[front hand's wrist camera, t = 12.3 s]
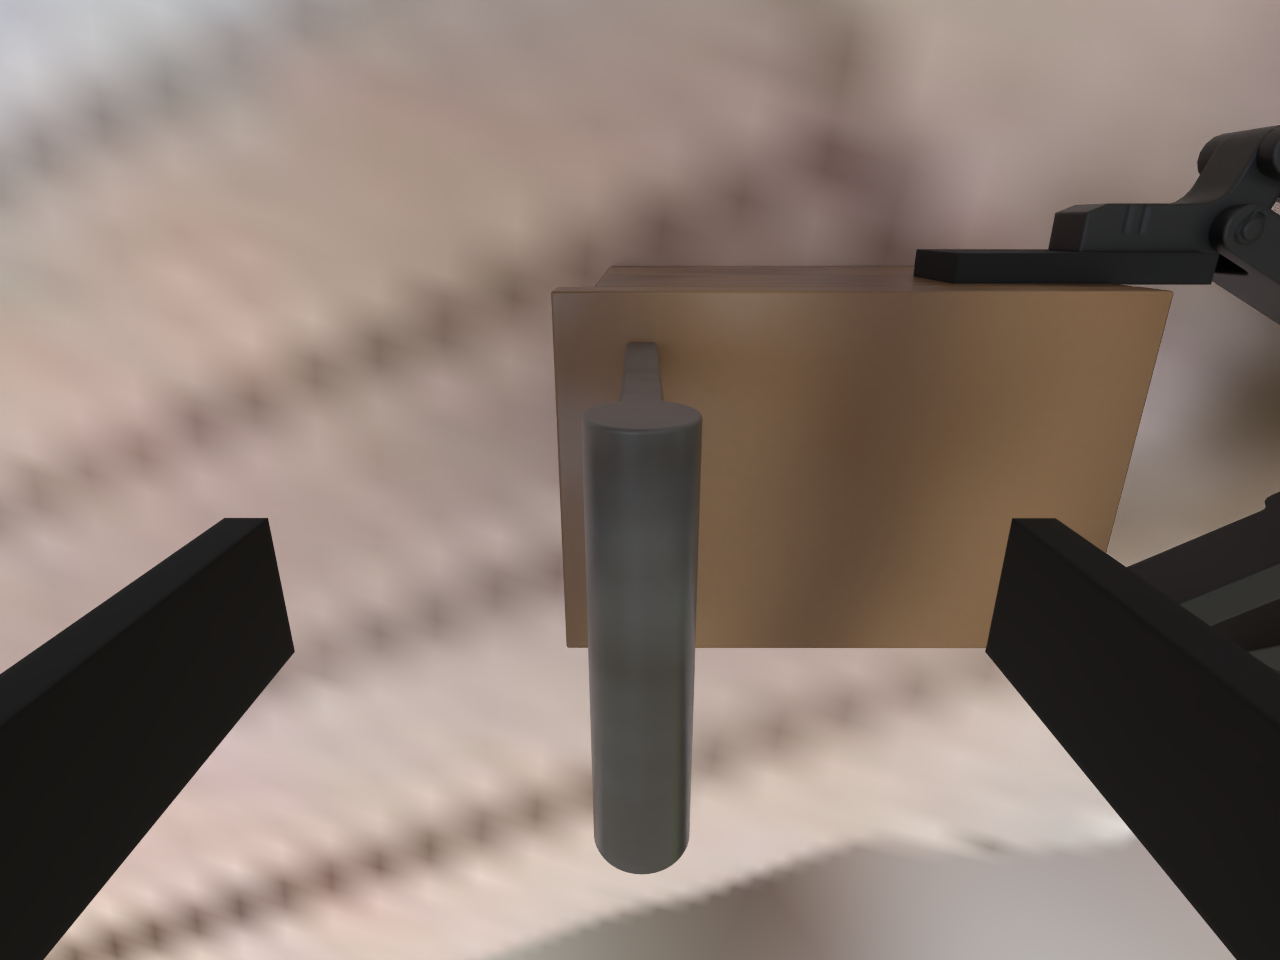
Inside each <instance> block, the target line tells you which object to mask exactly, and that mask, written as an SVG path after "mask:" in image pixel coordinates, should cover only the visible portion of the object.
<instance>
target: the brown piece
mask: <svg viewBox="0 0 1280 960" xmlns="http://www.w3.org/2000/svg"><path fill="white" fill-rule="evenodd" d="M1172 297H1173V292H1172V291H1167V290H1159V289H1151V288H1143V287H558V288H557V289H555V290H554V291H552V293H551V299H552V322H553V344H554V367H555V390H556V413H557V436H558V459H559V482H560V505H561V527H562V550H563V573H564V596H565V619H566V642H567V647H568V648H588V652H589V685H590V717H591V749H592V781H593V814H594V838H595V843H596V846H597V848H598V850H599V852H600V853H601V855H602V856H603V858H604V859H605V860H606V861H607V862H609V863H610V864H611V865H612V866H614V867H616V868H617V869H620V870H622V871H625V872H628V873H634V874H650V873H655V872H659V871H661V870H664V869H666V868H668V867H669V866H671V865H672V864H674V863H675V862H676V861H677V860H678V859H679V858H680V857H681V855H682V854H683V853H684V851H685V849H686V847H687V844H688V841H689V827H690V795H691V764H692V733H693V701H694V670H695V648H986V646H987V641H988V636H989V631H990V626H991V621H992V616H993V611H994V606H995V601H996V596H997V591H998V586H999V581H1000V576H1001V571H1002V566H1003V561H1004V556H1005V551H1006V546H1007V541H1008V536H1009V531H1010V526H1011V521H1012V518H1056V519H1058V520H1059V521H1060V522H1062V523H1063V524H1065V525H1066V526H1068V527H1069V528H1070V529H1072V530H1073V531H1075V532H1076V533H1078V534H1079V535H1081V536H1082V537H1083V538H1085V539H1086V540H1088V541H1089V542H1091V543H1092V544H1093V545H1095V546H1096V547H1098V548H1099V549H1101V550H1102V551H1103V552H1105V553H1106V551H1107V547H1108V543H1109V539H1110V536H1111V532H1112V528H1113V524H1114V520H1115V516H1116V512H1117V509H1118V505H1119V501H1120V497H1121V493H1122V489H1123V485H1124V482H1125V478H1126V474H1127V470H1128V466H1129V462H1130V458H1131V455H1132V451H1133V447H1134V443H1135V439H1136V435H1137V431H1138V428H1139V424H1140V420H1141V416H1142V412H1143V408H1144V404H1145V401H1146V397H1147V393H1148V389H1149V385H1150V381H1151V378H1152V374H1153V370H1154V366H1155V362H1156V358H1157V354H1158V351H1159V347H1160V343H1161V339H1162V335H1163V331H1164V327H1165V324H1166V320H1167V316H1168V312H1169V308H1170V304H1171V300H1172Z"/></svg>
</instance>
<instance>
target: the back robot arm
mask: <svg viewBox="0 0 1280 960" xmlns="http://www.w3.org/2000/svg"><path fill="white" fill-rule="evenodd" d="M1197 164H1198V172H1199V173H1200V176H1199V178H1198V179H1197V181H1196V183H1195V184H1194V186H1193V187H1192V188H1191V190H1190V191H1189V192H1188V193H1187V194H1186V195H1185V196H1184V197H1183V198H1181V199H1179V200H1178V201H1176V202H1173V203H1171V204H1090V205H1075V206H1072V207H1070V208H1067V209H1065V210H1062V211H1060V212H1057V213H1055V218H1054V223H1053V228H1052V233H1051V239H1050V244H1049V249H1048V250H1009V249H917V251H916V259H915V266H914V274H913V276H915V277H920V278H926V279H931V280H936V281H942V282H947V283H952V284H1211V282H1212V281H1213V282H1215V283H1216V284H1218V285H1219V286H1221V287H1222V288H1224V289H1225V290H1227V291H1228V292H1230V293H1232V294H1233V295H1235V296H1236V297H1238V298H1239V299H1241V300H1242V301H1244V302H1246V303H1247V304H1249V305H1250V306H1252V307H1253V308H1255V309H1256V310H1258V311H1259V312H1261V313H1263V314H1264V315H1266V316H1267V317H1269V318H1270V319H1272V320H1273V321H1275V322H1277V323H1278V324H1280V215H1278V214H1277V213H1275V212H1274V211H1273V210H1271V208H1272V207H1273V205H1274V203H1275V202H1279V203H1280V125H1278V126H1271V127H1265V128H1259V129H1252V130H1246V131H1239V132H1233V133H1227V134H1222V135H1219V136H1216V137H1214V138H1213V139H1211V140H1210V141H1209V142H1208V143H1206V145H1205V146H1204V148H1203V149H1202V151H1201V152H1200V155H1199V158H1198V161H1197ZM1265 505H1266V507H1265V509H1264V510H1262V511H1260V512H1257V513H1255V514H1253V515H1250V516H1248V517H1246V518H1243V519H1241V520H1238V521H1236V522H1234V523H1231V524H1229V525H1226V526H1224V527H1222V528H1219V529H1217V530H1215V531H1212V532H1210V533H1207V534H1205V535H1203V536H1200V537H1198V538H1196V539H1193V540H1191V541H1188V542H1186V543H1184V544H1181V545H1179V546H1176V547H1174V548H1172V549H1169V550H1167V551H1165V552H1162V553H1160V554H1157V555H1155V556H1153V557H1150V558H1148V559H1146V560H1143V561H1141V562H1138V563H1136V564H1134V565H1131V566H1129V567H1126V568H1128V569H1129V570H1131V571H1132V572H1134V573H1135V574H1136V575H1138V576H1139V577H1141V578H1142V579H1144V580H1145V581H1147V582H1148V583H1149V584H1151V585H1152V586H1154V587H1155V588H1157V589H1158V590H1159V591H1161V592H1162V593H1164V594H1165V595H1167V596H1168V597H1169V598H1171V599H1172V600H1174V601H1175V602H1177V603H1178V604H1179V605H1181V606H1182V607H1184V608H1185V609H1187V610H1188V611H1190V612H1191V613H1192V614H1194V615H1195V616H1197V617H1198V618H1200V619H1201V620H1202V621H1204V622H1205V623H1207V624H1208V625H1210V626H1211V627H1212V628H1214V629H1215V630H1217V631H1218V632H1220V633H1221V634H1223V635H1224V636H1225V637H1227V638H1228V639H1230V640H1231V641H1233V642H1234V643H1235V644H1237V645H1238V646H1240V647H1241V648H1243V649H1244V650H1245V651H1247V652H1248V653H1250V654H1251V655H1253V656H1254V657H1256V658H1257V659H1258V660H1260V661H1261V662H1263V663H1264V664H1266V665H1267V666H1269V667H1271V668H1273V669H1275V670H1277V671H1279V672H1280V492H1278V493H1276V494H1273V495H1271V496H1270V497H1268V498H1267V499H1266V500H1265Z"/></svg>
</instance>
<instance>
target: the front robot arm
mask: <svg viewBox="0 0 1280 960" xmlns="http://www.w3.org/2000/svg"><path fill="white" fill-rule="evenodd" d="M294 652H295V651H294V646H293V641H292V636H291V631H290V626H289V621H288V616H287V611H286V606H285V601H284V596H283V591H282V586H281V581H280V576H279V571H278V566H277V561H276V556H275V551H274V546H273V541H272V536H271V531H270V526H269V521H268V518H224V519H222V520H221V521H220V522H218V523H217V524H215V525H214V526H212V527H211V528H210V529H208V530H207V531H205V532H204V533H202V534H201V535H199V536H198V537H197V538H195V539H194V540H192V541H191V542H189V543H188V544H187V545H185V546H184V547H182V548H181V549H179V550H178V551H177V552H175V553H174V554H172V555H171V556H169V557H168V558H166V559H165V560H164V561H162V562H161V563H159V564H158V565H156V566H155V567H154V568H152V569H151V570H149V571H148V572H146V573H145V574H144V575H142V576H141V577H139V578H138V579H136V580H135V581H133V582H132V583H131V584H129V585H128V586H126V587H125V588H123V589H122V590H121V591H119V592H118V593H116V594H115V595H113V596H112V597H111V598H109V599H108V600H106V601H105V602H103V603H102V604H101V605H99V606H98V607H96V608H95V609H93V610H92V611H90V612H89V613H88V614H86V615H85V616H83V617H82V618H80V619H79V620H78V621H76V622H75V623H73V624H72V625H70V626H69V627H68V628H66V629H65V630H63V631H62V632H60V633H59V634H57V635H56V636H55V637H53V638H52V639H50V640H49V641H47V642H46V643H45V644H43V645H42V646H40V647H39V648H37V649H36V650H35V651H33V652H32V653H30V654H29V655H27V656H26V657H24V658H23V659H22V660H20V661H19V662H17V663H16V664H14V665H13V666H12V667H10V668H9V669H7V670H6V671H4V672H3V673H2V674H0V960H44V958H45V957H46V956H47V955H48V953H49V952H50V951H51V950H52V949H53V947H54V946H55V945H56V944H57V942H58V941H59V940H60V939H61V937H62V936H63V935H64V934H65V933H66V931H67V930H68V929H69V928H70V926H71V925H72V924H73V923H74V922H75V920H76V919H77V918H78V917H79V915H80V914H81V913H82V912H83V911H84V909H85V908H86V907H87V906H88V904H89V903H90V902H91V901H92V899H93V898H94V897H95V896H96V895H97V893H98V892H99V891H100V890H101V888H102V887H103V886H104V885H105V884H106V882H107V881H108V880H109V879H110V877H111V876H112V875H113V874H114V873H115V871H116V870H117V869H118V868H119V866H120V865H121V864H122V863H123V861H124V860H125V859H126V858H127V857H128V855H129V854H130V853H131V852H132V850H133V849H134V848H135V847H136V846H137V844H138V843H139V842H140V841H141V839H142V838H143V837H144V836H145V835H146V833H147V832H148V831H149V830H150V828H151V827H152V826H153V825H154V823H155V822H156V821H157V820H158V819H159V817H160V816H161V815H162V814H163V812H164V811H165V810H166V809H167V808H168V806H169V805H170V804H171V803H172V801H173V800H174V799H175V798H176V797H177V795H178V794H179V793H180V792H181V790H182V789H183V788H184V787H185V785H186V784H187V783H188V782H189V781H190V779H191V778H192V777H193V776H194V774H195V773H196V772H197V771H198V770H199V768H200V767H201V766H202V765H203V763H204V762H205V761H206V760H207V759H208V757H209V756H210V755H211V754H212V752H213V751H214V750H215V749H216V747H217V746H218V745H219V744H220V743H221V741H222V740H223V739H224V738H225V736H226V735H227V734H228V733H229V732H230V730H231V729H232V728H233V727H234V725H235V724H236V723H237V722H238V721H239V719H240V718H241V717H242V716H243V714H244V713H245V712H246V711H247V709H248V708H249V707H250V706H251V705H252V703H253V702H254V701H255V700H256V698H257V697H258V696H259V695H260V694H261V692H262V691H263V690H264V689H265V687H266V686H267V685H268V684H269V683H270V681H271V680H272V679H273V678H274V676H275V675H276V674H277V673H278V671H279V670H280V669H281V668H282V667H283V665H284V664H285V663H286V662H287V660H288V659H289V658H290V657H291V656H292V654H293V653H294ZM985 652H986V653H987V654H988V656H989V657H990V658H991V659H992V660H993V662H994V663H995V664H996V665H997V667H998V668H999V669H1000V670H1001V671H1002V673H1003V674H1004V675H1005V676H1006V678H1007V679H1008V680H1009V681H1010V683H1011V684H1012V685H1013V686H1014V687H1015V689H1016V690H1017V691H1018V692H1019V694H1020V695H1021V696H1022V697H1023V698H1024V700H1025V701H1026V702H1027V703H1028V705H1029V706H1030V707H1031V708H1032V709H1033V711H1034V712H1035V713H1036V714H1037V716H1038V717H1039V718H1040V719H1041V721H1042V722H1043V723H1044V724H1045V725H1046V727H1047V728H1048V729H1049V730H1050V732H1051V733H1052V734H1053V735H1054V736H1055V738H1056V739H1057V740H1058V741H1059V743H1060V744H1061V745H1062V746H1063V747H1064V749H1065V750H1066V751H1067V752H1068V754H1069V755H1070V756H1071V757H1072V759H1073V760H1074V761H1075V762H1076V763H1077V765H1078V766H1079V767H1080V768H1081V770H1082V771H1083V772H1084V773H1085V774H1086V776H1087V777H1088V778H1089V779H1090V781H1091V782H1092V783H1093V784H1094V785H1095V787H1096V788H1097V789H1098V790H1099V792H1100V793H1101V794H1102V795H1103V797H1104V798H1105V799H1106V800H1107V801H1108V803H1109V804H1110V805H1111V806H1112V808H1113V809H1114V810H1115V811H1116V812H1117V814H1118V815H1119V816H1120V817H1121V819H1122V820H1123V821H1124V822H1125V823H1126V825H1127V826H1128V827H1129V828H1130V830H1131V831H1132V832H1133V833H1134V835H1135V836H1136V837H1137V838H1138V839H1139V841H1140V842H1141V843H1142V844H1143V845H1144V847H1145V848H1146V849H1147V850H1148V852H1149V853H1150V854H1151V855H1152V857H1153V858H1154V859H1155V860H1156V861H1157V863H1158V864H1159V865H1160V866H1161V868H1162V869H1163V870H1164V871H1165V872H1166V874H1167V875H1168V876H1169V877H1170V879H1171V880H1172V881H1173V882H1174V884H1175V885H1176V886H1177V887H1178V888H1179V890H1180V891H1181V892H1182V893H1183V894H1184V896H1185V897H1186V898H1187V899H1188V901H1189V902H1190V903H1191V904H1192V906H1193V907H1194V908H1195V909H1196V911H1197V912H1198V913H1199V914H1200V915H1201V917H1202V918H1203V919H1204V920H1205V922H1206V923H1207V924H1208V925H1209V926H1210V928H1211V929H1212V930H1213V931H1214V933H1215V934H1216V935H1217V936H1218V937H1219V939H1220V940H1221V941H1222V942H1223V944H1224V945H1225V946H1226V947H1227V949H1228V950H1229V951H1230V952H1231V953H1232V955H1233V956H1234V957H1235V958H1236V960H1280V672H1279V671H1277V670H1275V669H1273V668H1271V667H1269V666H1267V665H1266V664H1264V663H1263V662H1261V661H1260V660H1258V659H1257V658H1256V657H1254V656H1253V655H1251V654H1250V653H1248V652H1247V651H1245V650H1244V649H1243V648H1241V647H1240V646H1238V645H1237V644H1235V643H1234V642H1233V641H1231V640H1230V639H1228V638H1227V637H1225V636H1224V635H1223V634H1221V633H1220V632H1218V631H1217V630H1215V629H1214V628H1212V627H1211V626H1210V625H1208V624H1207V623H1205V622H1204V621H1202V620H1201V619H1200V618H1198V617H1197V616H1195V615H1194V614H1192V613H1191V612H1190V611H1188V610H1187V609H1185V608H1184V607H1182V606H1181V605H1179V604H1178V603H1177V602H1175V601H1174V600H1172V599H1171V598H1169V597H1168V596H1167V595H1165V594H1164V593H1162V592H1161V591H1159V590H1158V589H1157V588H1155V587H1154V586H1152V585H1151V584H1149V583H1148V582H1147V581H1145V580H1144V579H1142V578H1141V577H1139V576H1138V575H1136V574H1135V573H1134V572H1132V571H1131V570H1129V569H1128V568H1126V567H1125V566H1124V565H1122V564H1121V563H1119V562H1118V561H1116V560H1115V559H1114V558H1112V557H1111V556H1109V555H1108V554H1106V553H1105V552H1103V551H1102V550H1101V549H1099V548H1098V547H1096V546H1095V545H1093V544H1092V543H1091V542H1089V541H1088V540H1086V539H1085V538H1083V537H1082V536H1081V535H1079V534H1078V533H1076V532H1075V531H1073V530H1072V529H1070V528H1069V527H1068V526H1066V525H1065V524H1063V523H1062V522H1060V521H1059V520H1058V519H1056V518H1012V521H1011V526H1010V531H1009V536H1008V541H1007V546H1006V551H1005V556H1004V561H1003V566H1002V571H1001V576H1000V581H999V586H998V591H997V596H996V601H995V606H994V611H993V616H992V621H991V626H990V631H989V636H988V641H987V646H986V651H985Z"/></svg>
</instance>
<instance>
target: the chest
mask: <svg viewBox="0 0 1280 960" xmlns="http://www.w3.org/2000/svg"><path fill="white" fill-rule="evenodd" d="M913 274H914V266H611V267H610V268H609V269H608V270H607V272H606V273H605V274H604V276H603V277H602V278H601V280H600V281H599V282H598V284H597V285H596V286H595V287H1132V286H1126V285H1118V284H952V283H947V282H942V281H936V280H931V279H926V278H920V277H915V276H913Z"/></svg>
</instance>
